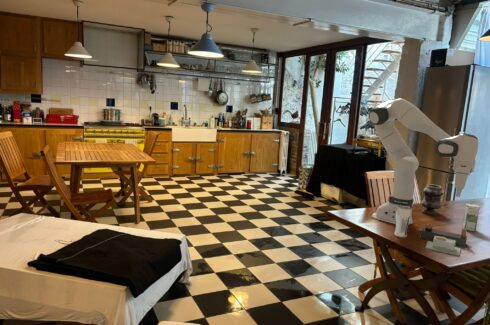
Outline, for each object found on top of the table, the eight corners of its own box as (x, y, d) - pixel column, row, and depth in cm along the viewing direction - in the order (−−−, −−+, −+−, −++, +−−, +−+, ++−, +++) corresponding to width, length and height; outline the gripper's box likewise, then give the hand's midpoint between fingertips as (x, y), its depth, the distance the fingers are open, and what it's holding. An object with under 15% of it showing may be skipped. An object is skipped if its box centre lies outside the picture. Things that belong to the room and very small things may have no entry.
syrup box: (473, 228, 205) (477, 204, 203) (475, 232, 200) (480, 206, 197) (462, 227, 207) (466, 202, 205) (464, 230, 202) (468, 205, 199)
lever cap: (432, 246, 172) (433, 237, 171) (433, 243, 176) (434, 234, 176) (453, 251, 167) (455, 242, 167) (454, 248, 172) (455, 238, 171)
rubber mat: (425, 248, 171) (425, 247, 171) (427, 242, 180) (427, 241, 180) (459, 256, 164) (459, 254, 164) (460, 249, 172) (460, 248, 172)
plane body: (420, 237, 186) (422, 222, 184) (421, 233, 192) (423, 219, 190) (465, 247, 175) (467, 231, 174) (465, 243, 181) (468, 228, 180)
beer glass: (395, 232, 192) (399, 204, 190) (409, 235, 188) (413, 207, 186) (391, 235, 187) (395, 207, 185) (405, 238, 183) (409, 210, 180)
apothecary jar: (439, 216, 226) (443, 188, 223) (418, 212, 232) (422, 185, 229) (441, 212, 236) (445, 185, 233) (420, 208, 242) (424, 182, 240)
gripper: (457, 163, 185) (452, 189, 187) (454, 168, 168) (449, 197, 170) (471, 165, 181) (466, 192, 184) (470, 170, 164) (465, 200, 167)
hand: (458, 194), depth 177 cm, fingers open, 8 cm apart
